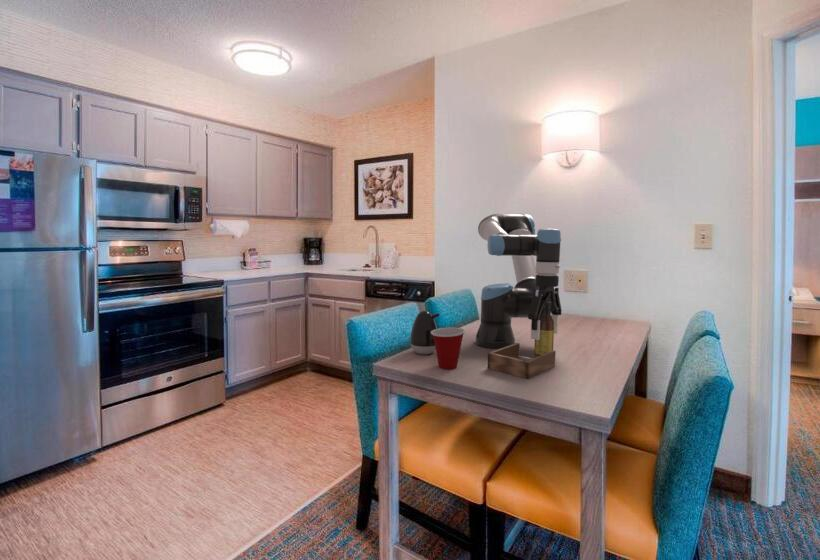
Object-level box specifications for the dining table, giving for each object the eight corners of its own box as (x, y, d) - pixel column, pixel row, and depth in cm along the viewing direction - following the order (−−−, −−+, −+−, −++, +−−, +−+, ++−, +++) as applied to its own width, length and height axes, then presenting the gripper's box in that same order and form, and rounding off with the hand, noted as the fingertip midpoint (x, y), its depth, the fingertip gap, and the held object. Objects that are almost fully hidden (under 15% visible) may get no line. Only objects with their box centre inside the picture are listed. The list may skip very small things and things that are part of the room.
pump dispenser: (439, 356, 145) (440, 313, 143) (409, 356, 145) (409, 313, 144) (438, 349, 155) (439, 308, 153) (410, 348, 155) (410, 308, 154)
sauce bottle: (539, 354, 150) (542, 299, 148) (556, 357, 145) (559, 301, 143) (530, 357, 145) (532, 301, 143) (547, 361, 141) (549, 303, 139)
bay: (487, 368, 133) (487, 352, 132) (516, 356, 146) (516, 342, 145) (527, 379, 123) (528, 362, 123) (554, 365, 136) (555, 350, 136)
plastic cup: (428, 361, 139) (429, 326, 138) (460, 361, 140) (461, 326, 138) (431, 372, 128) (432, 333, 127) (466, 372, 129) (467, 334, 128)
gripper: (540, 277, 131) (537, 344, 133) (573, 273, 149) (570, 332, 151) (518, 275, 136) (516, 340, 138) (553, 272, 154) (550, 329, 156)
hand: (544, 336), depth 144 cm, fingers open, 13 cm apart
